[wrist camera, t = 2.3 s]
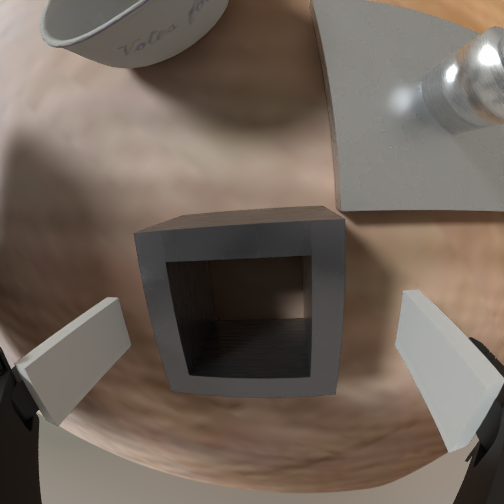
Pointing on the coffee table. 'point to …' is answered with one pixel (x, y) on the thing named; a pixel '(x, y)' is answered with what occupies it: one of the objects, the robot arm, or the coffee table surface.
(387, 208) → the grey plate with post
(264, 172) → the coffee table surface
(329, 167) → the coffee table surface
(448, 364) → the robot arm
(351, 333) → the coffee table surface
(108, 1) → the teacup
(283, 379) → the grey square hollow block
